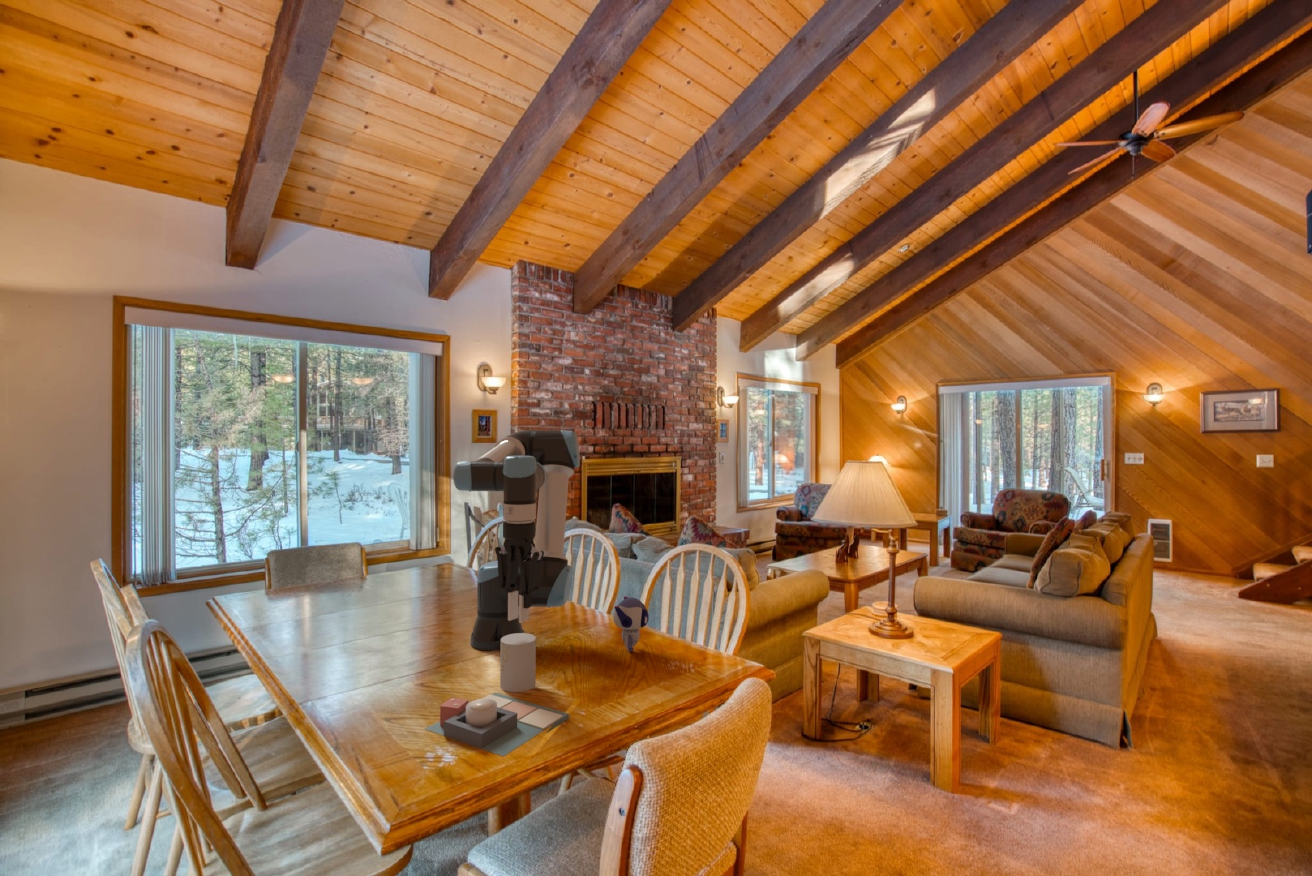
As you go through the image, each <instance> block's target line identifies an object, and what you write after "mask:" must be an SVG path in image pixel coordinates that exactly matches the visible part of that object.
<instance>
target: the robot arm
mask: <svg viewBox="0 0 1312 876" xmlns="http://www.w3.org/2000/svg"><path fill="white" fill-rule="evenodd" d="M580 456H581V455H580V447H579V440H578V437H577V434H576V432H574V431H573V430H565V429H559V430H558V429H557V430H555V429H528V430H527V429H525V430H521V431H517V432H514V433H511V434H508V435H506V436H504V437H502V438H501V439H498V441H497V442H496V443H495V445H494V447H493V448H492V449H490V450H489V451H487V452H486V453H484V454H483V455H482V456H480V457H479V458H477V459H475V460H472V461H471V460H464V461H463V460H462V461H457V463H456V464H455V465H454V468H453V484H454V487H455V488H456V489H457V490H458V491H463V492H464V491H465V492H503V501H502V502H503V503H502V504H503V505H502V506H503V509H502V510H503V513H502V514H503V516H502V518H503V520H504V522H503V523H502V538H504V541H503V544H502V545H500V546H495V548H494V552H495V555H496V559H497V560H494V561H489V562H486V563H484V564H482V565H481V566H480V567H479V568H478V570H477V571H478V572H477V580H476V586H477V587H476V588H477V591H476V592H477V594H476V596H477V599H476V600H477V601H476V603H477V605H476V618H475V622H474V625H473V628H472V629H473V630H472V632H471V633H470V645H471V647H472V648H474V649H477V650H482V651H501V638H502V637H504V636H506V635H509V634H515V633H525V630H524V628H523V625H522V623H526V622H527V621H530V608H531V607H538V608H549V609H550V608H556V607H557V608H558V607H559V608H560V607H562V606H565V604H566V603H567V601H568V599H569V596H570V592H571V588H572V584H573V574H574V571H573V567H572V566H571V565H570V564H569V565H568V563H569V560H568V559H567V557H566V556H565V555H564V551H565V550H564V549H565V546H564V545H565V536H566V535H565V534H566V520H567V519H566V518H567V507H568V504H567V503H568V494H569V492H568V491H569V480H570V478H571V477H572V476H573V475H574V473H575V469H578V468H579V467H580V466H581V458H580ZM538 490H539V492H538V503H536V499H537V498H536V497H537V491H538ZM536 510H537V511H536ZM536 512H537V513H536ZM535 519H536V522H535V521H534V520H535Z"/></svg>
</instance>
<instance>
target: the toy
mask: <svg viewBox="0 0 1312 876" xmlns="http://www.w3.org/2000/svg"><path fill="white" fill-rule="evenodd" d="M612 618H613V623H614V624H615V626H617V627H618V628H620V629H622V631H621V638H622V641H623V643H624V647H625V648H626V649H627V651H628V652H630V653H631V652H633V651H634V647H635V646H636V644H637V643H638V642H639V640H640V636H641V633H640V629H642V628H644V627H646V625H647V624H648V622H649V618H650V617H649V611H648V609H647V607H646V605H645V604H644V603H643V602H642V601H641V600H640V599H638V598H636V597H628V596H623V599H622V600H621V601H620V602H619V603H618V605H615V606H614V611H613V617H612Z"/></svg>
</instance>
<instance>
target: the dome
mask: <svg viewBox="0 0 1312 876" xmlns="http://www.w3.org/2000/svg"><path fill="white" fill-rule="evenodd" d="M496 720H497V703H496V701H494V700H491V699H482V698H478V699H475V700H472V701H470V702H468V704H467V705H466V724H469V725H472V726H475V727H478V728H481V729H482V728H484V727H486V726H487V725H489V724H491V723H493V722H494V721H496Z"/></svg>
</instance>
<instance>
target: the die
mask: <svg viewBox="0 0 1312 876" xmlns="http://www.w3.org/2000/svg"><path fill="white" fill-rule="evenodd" d="M468 703H469V699H465V698H455V697H451V698H449V699H448V700H446V701H445V702H443V704H440V706H439V711H440V712H439V721H440V726H444V721H446V720H448V719H450V718H452V717H454V716H456V715H457V714H459V713H461V712H463V711H465V710H466V705H467V704H468Z"/></svg>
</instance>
